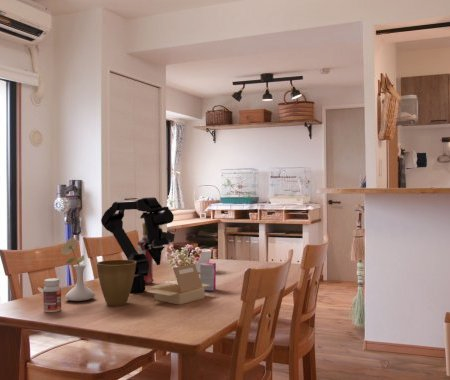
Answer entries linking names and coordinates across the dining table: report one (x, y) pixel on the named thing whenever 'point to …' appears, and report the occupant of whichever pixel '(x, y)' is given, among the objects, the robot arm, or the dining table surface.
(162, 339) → the dining table surface
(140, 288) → the robot arm
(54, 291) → the pill bottle
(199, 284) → the flap
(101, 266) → the plant pot
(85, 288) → the flower in vase
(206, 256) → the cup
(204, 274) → the supplement box
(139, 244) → the liquor
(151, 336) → the dining table surface
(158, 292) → the carton
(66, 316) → the dining table surface
